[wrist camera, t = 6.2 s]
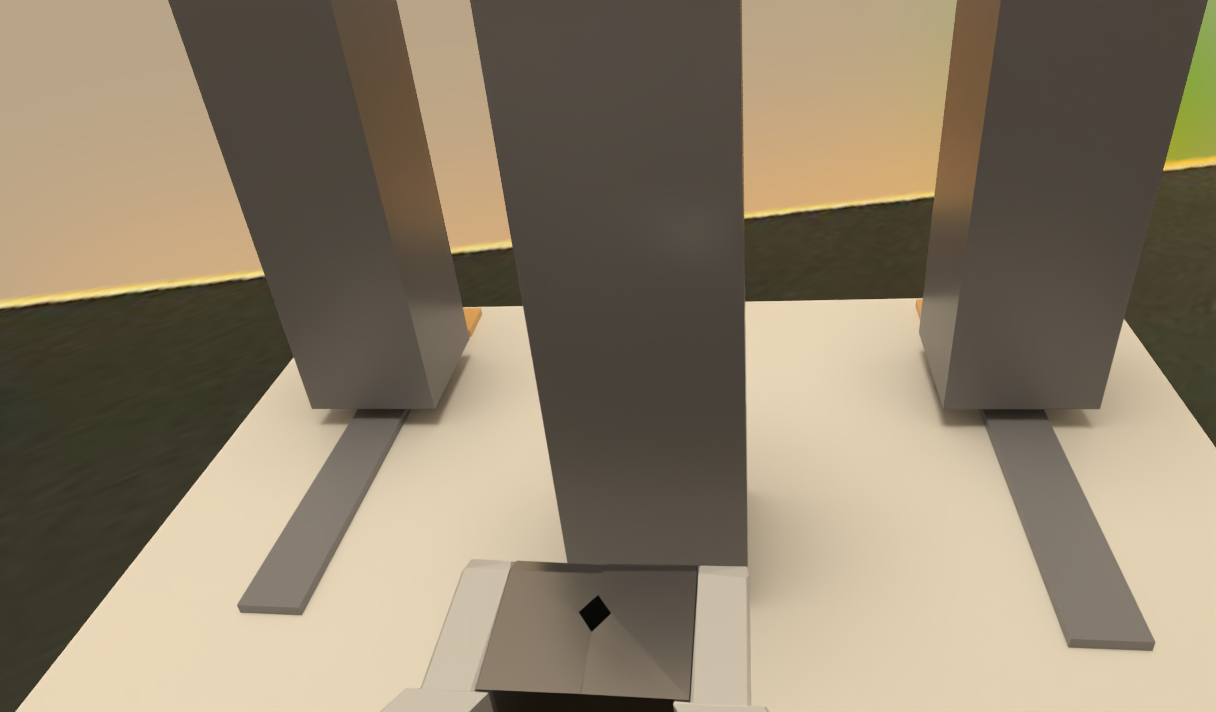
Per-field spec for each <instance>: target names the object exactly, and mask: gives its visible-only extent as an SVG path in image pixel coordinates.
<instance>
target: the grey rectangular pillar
mask: <svg viewBox="0 0 1216 712" xmlns="http://www.w3.org/2000/svg"><path fill="white" fill-rule="evenodd" d="M741 1H742V0H470V3H471V8H472V14H473V20H474V26H475V32H476V37H477V43H478V49H479V55H480V60H481V66H482V72H483V78H484V83H485V89H486V95H487V101H488V107H489V112H490V118H491V124H492V130H493V135H494V141H495V147H496V153H497V159H498V165H499V170H500V176H501V182H502V188H503V193H504V199H505V205H506V211H507V217H508V222H509V228H510V234H511V240H512V246H513V251H514V257H515V263H516V269H517V274H518V280H519V286H520V292H521V298H522V303H523V309H524V315H525V321H526V326H527V332H528V338H529V344H530V350H531V355H532V361H533V367H534V373H535V379H536V384H537V390H538V396H539V402H540V407H541V413H542V419H543V425H544V431H545V436H546V442H547V448H548V454H549V460H550V465H551V471H552V477H553V483H554V488H555V494H556V500H557V506H558V512H559V517H560V523H561V529H562V535H563V540H564V546H565V552H566V558H567V563H575V564H595V565H607V564H646V565H699V568H700V566H745V567H748V505H747V404H746V323H745V242H744V162H743V86H742V85H743V84H742V83H743V82H742V81H743V80H742V8H741V7H742V2H741Z"/></svg>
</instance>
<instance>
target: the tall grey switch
mask: <svg viewBox="0 0 1216 712" xmlns="http://www.w3.org/2000/svg"><path fill="white" fill-rule="evenodd" d="M1207 1H1208V0H957V6H956V15H955V24H954V32H953V40H952V49H951V58H950V66H949V75H948V84H947V92H946V101H945V110H944V118H943V128H942V136H941V145H940V153H939V162H938V170H937V179H936V188H935V197H934V205H933V214H932V223H931V231H930V240H929V249H928V257H927V266H926V275H925V283H924V292H923V301H922V309H921V318H920V327H919V335H920V338H921V341H922V344H923V347H924V351H925V354H926V357H927V360H928V363H929V366H930V369H931V373H932V376H933V379H934V382H935V385H936V388H937V391H938V394H939V398H940V401H941V404H942V407H943V409H1100V407H1101V403H1102V400H1103V396H1104V392H1105V388H1106V384H1107V381H1108V377H1109V373H1110V369H1111V365H1112V362H1113V358H1114V354H1115V350H1116V347H1117V343H1118V339H1119V335H1120V331H1121V328H1122V324H1123V320H1124V316H1125V312H1126V309H1127V305H1128V301H1129V297H1130V293H1131V290H1132V286H1133V282H1134V278H1135V274H1136V271H1137V267H1138V263H1139V259H1140V255H1141V252H1142V248H1143V244H1144V240H1145V236H1146V233H1147V229H1148V225H1149V221H1150V217H1151V214H1152V210H1153V206H1154V202H1155V198H1156V195H1157V191H1158V187H1159V183H1160V179H1161V176H1162V172H1163V168H1164V164H1165V161H1166V157H1167V153H1168V149H1169V145H1170V141H1171V138H1172V134H1173V130H1174V126H1175V122H1176V118H1177V115H1178V111H1179V107H1180V103H1181V100H1182V96H1183V92H1184V88H1185V85H1186V81H1187V77H1188V73H1189V69H1190V65H1191V62H1192V58H1193V54H1194V50H1195V46H1196V43H1197V39H1198V35H1199V31H1200V27H1201V24H1202V20H1203V16H1204V12H1205V9H1206V5H1207Z"/></svg>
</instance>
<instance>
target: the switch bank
mask: <svg viewBox="0 0 1216 712" xmlns="http://www.w3.org/2000/svg"><path fill="white" fill-rule="evenodd" d="M922 301H923V298H920V299H869V300H818V301H766V302H745V323H746V404H747V505H748V570H749V583H750V645H751V706H762V707H767V709H768V710H769V712H1216V448H1215V446H1214V445H1213V443H1212V442H1211V441H1210V439H1209V438H1208V436H1207V435H1206V434H1205V432H1204V431H1203V429H1202V428H1201V427H1200V425H1199V424H1198V422H1197V421H1196V420H1195V418H1194V417H1193V415H1192V414H1191V412H1190V411H1189V410H1188V408H1187V407H1186V405H1185V404H1184V403H1183V401H1182V400H1181V398H1180V397H1179V396H1178V394H1177V393H1176V391H1175V390H1174V389H1173V387H1172V386H1171V384H1170V383H1169V382H1168V380H1167V379H1166V377H1165V376H1164V375H1163V373H1162V372H1161V370H1160V369H1159V367H1158V366H1157V365H1156V363H1155V362H1154V360H1153V359H1152V358H1151V356H1150V355H1149V353H1148V352H1147V351H1146V349H1145V348H1144V346H1143V345H1142V344H1141V342H1140V341H1139V339H1138V338H1137V337H1136V335H1135V334H1134V332H1133V331H1132V330H1131V328H1130V327H1129V325H1128V324H1127V322H1126V321H1125V320H1123V324H1122V328H1121V331H1120V335H1119V339H1118V343H1117V347H1116V350H1115V354H1114V358H1113V362H1112V365H1111V369H1110V373H1109V377H1108V381H1107V384H1106V388H1105V392H1104V396H1103V400H1102V403H1101V407H1100V409H943V407H942V404H941V401H940V398H939V394H938V391H937V388H936V385H935V382H934V379H933V376H932V373H931V369H930V366H929V363H928V360H927V357H926V354H925V351H924V347H923V344H922V341H921V338H920V335H919V327H920V318H921V309H922ZM463 311H464V315H465V320H466V325H467V329H468V334H469V338H470V339H469V341H468V343H467V345H466V347H465V349H464V351H463V353H462V355H461V357H460V359H459V361H458V363H457V365H456V367H455V369H454V371H453V373H452V375H451V377H450V379H449V381H448V383H447V386H446V388H445V390H444V392H443V394H442V396H441V398H440V400H439V402H438V404H437V406H436V408H435V409H312V408H311V405H310V402H309V399H308V396H307V394H306V391H305V388H304V385H303V382H302V379H301V377H300V374H299V371H298V368H297V365H296V362H295V359H294V358H293V359H292V360H291V362H290V363H289V364H288V365H287V367H286V368H285V369H284V370H283V372H282V373H281V374H280V376H279V377H278V378H277V379H276V381H275V382H274V383H273V384H272V386H271V387H270V388H269V390H268V391H267V392H266V393H265V395H264V396H263V397H262V398H261V400H260V401H259V402H258V404H257V405H256V406H255V407H254V409H253V410H252V411H251V412H250V414H249V415H248V416H247V418H246V419H245V420H244V421H243V423H242V424H241V425H240V426H239V428H238V429H237V430H236V432H235V433H234V434H233V435H232V437H231V438H230V439H229V440H228V442H227V443H226V444H225V446H224V447H223V448H222V449H221V451H220V452H219V453H218V455H217V456H216V457H215V458H214V460H213V461H212V462H211V463H210V465H209V466H208V467H207V469H206V470H205V471H204V472H203V474H202V475H201V476H200V477H199V479H198V480H197V481H196V483H195V484H194V485H193V486H192V488H191V489H190V490H189V491H188V493H187V494H186V495H185V497H184V498H183V499H182V500H181V502H180V503H179V504H178V505H177V507H176V508H175V509H174V511H173V512H172V513H171V514H170V516H169V517H168V518H167V519H166V521H165V522H164V523H163V525H162V526H161V527H160V528H159V530H158V531H157V532H156V533H155V535H154V536H153V537H152V539H151V540H150V541H149V542H148V544H147V545H146V546H145V548H144V549H143V550H142V551H141V553H140V554H139V555H138V556H137V558H136V559H135V560H134V562H133V563H132V564H131V565H130V567H129V568H128V569H127V570H126V572H125V573H124V574H123V576H122V577H121V578H120V579H119V581H118V582H117V583H116V584H115V586H114V587H113V588H112V590H111V591H110V592H109V593H108V595H107V596H106V597H105V598H104V600H103V601H102V602H101V604H100V605H99V606H98V607H97V609H96V610H95V611H94V612H93V614H92V615H91V616H90V618H89V619H88V620H87V621H86V623H85V624H84V625H83V626H82V628H81V629H80V630H79V632H78V633H77V634H76V635H75V637H74V638H73V639H72V641H71V642H70V643H69V644H68V646H67V647H66V648H65V649H64V651H63V652H62V653H61V655H60V656H59V657H58V658H57V660H56V661H55V662H54V663H53V665H52V666H51V667H50V669H49V670H48V671H47V672H46V674H45V675H44V676H43V677H42V679H41V680H40V681H39V683H38V684H37V685H36V686H35V688H34V689H33V690H32V691H31V693H30V694H29V695H28V697H27V698H26V699H25V700H24V702H23V703H22V704H21V705H20V707H19V708H18V709H17V711H16V712H380V711H381V710H382V709H383V708H385V707H386V706H387V705H388V704H389V703H390V702H391V701H392V700H394V699H395V698H396V697H397V696H398V695H399V694H400V693H402V692H403V691H404V690H405V689H406V688H420V687H421V685H422V682H423V679H424V676H425V674H426V671H427V668H428V665H429V662H430V660H431V657H432V654H433V651H434V648H435V646H436V643H437V640H438V637H439V634H440V632H441V629H442V626H443V623H444V620H445V618H446V615H447V612H448V609H449V606H450V604H451V601H452V598H453V595H454V592H455V590H456V587H457V584H458V581H459V579H460V576H461V573H462V571H463V569H464V568H465V567H466V566H467V564H468V563H469V562H470V560H471V559H482V560H503V561H536V562H556V563H567V558H566V552H565V546H564V540H563V535H562V529H561V523H560V517H559V512H558V506H557V500H556V494H555V488H554V483H553V477H552V471H551V465H550V460H549V454H548V448H547V442H546V436H545V431H544V425H543V419H542V413H541V407H540V402H539V396H538V390H537V384H536V379H535V373H534V367H533V361H532V355H531V350H530V344H529V338H528V332H527V326H526V321H525V315H524V309H523V306H511V307H463Z"/></svg>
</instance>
